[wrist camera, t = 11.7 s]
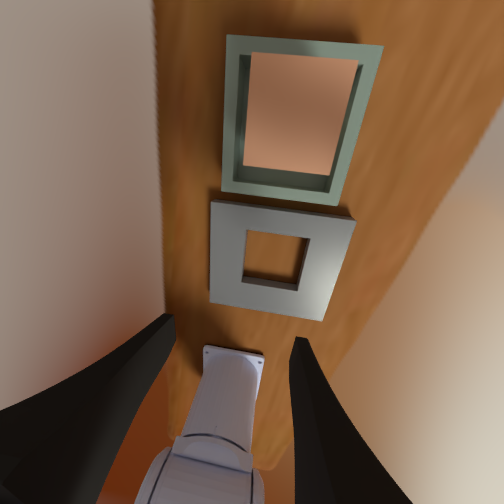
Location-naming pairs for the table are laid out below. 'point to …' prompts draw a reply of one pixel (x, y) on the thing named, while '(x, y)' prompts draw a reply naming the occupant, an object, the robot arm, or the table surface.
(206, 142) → the table surface
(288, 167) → the block
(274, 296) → the holder board
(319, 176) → the tray
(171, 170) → the table surface
